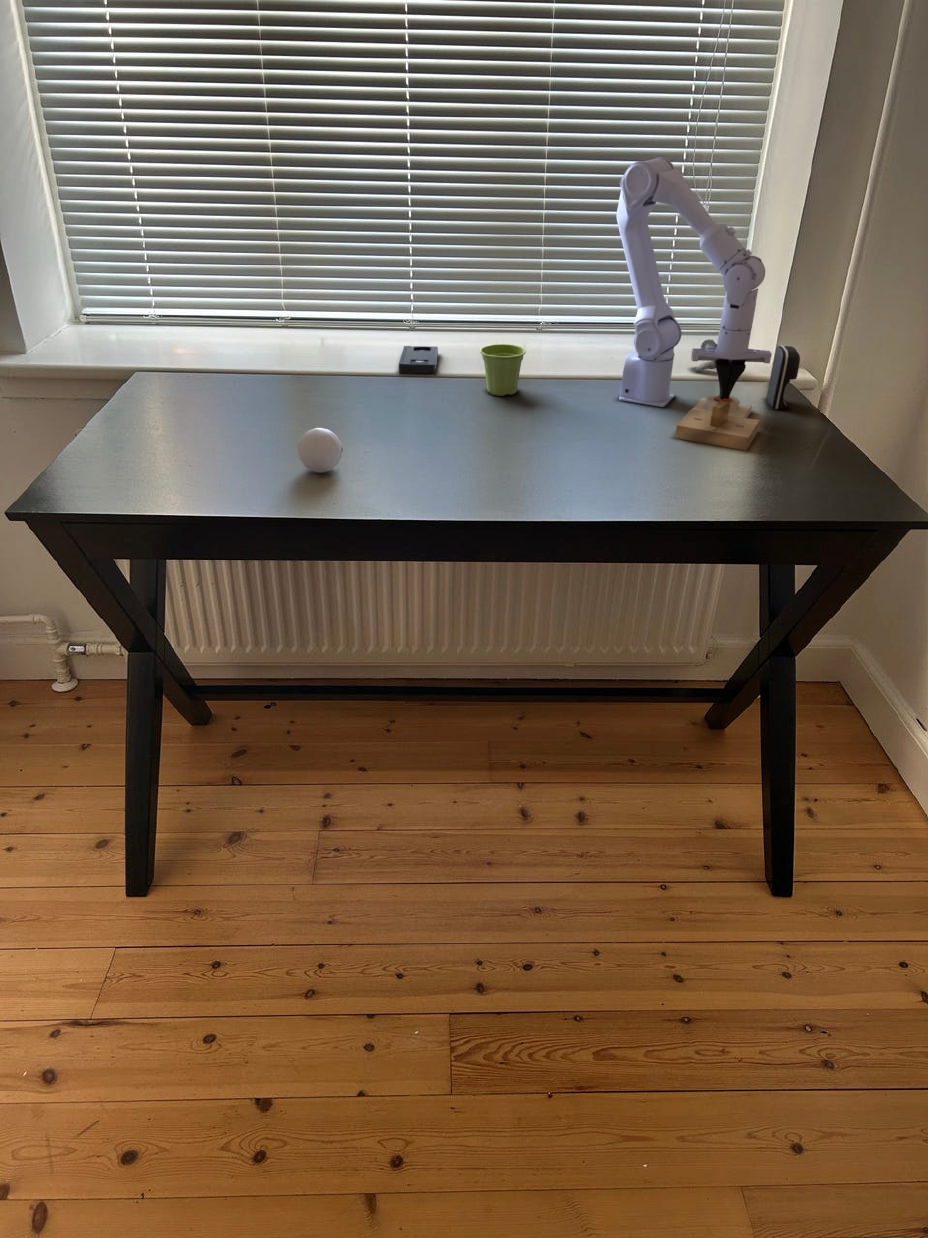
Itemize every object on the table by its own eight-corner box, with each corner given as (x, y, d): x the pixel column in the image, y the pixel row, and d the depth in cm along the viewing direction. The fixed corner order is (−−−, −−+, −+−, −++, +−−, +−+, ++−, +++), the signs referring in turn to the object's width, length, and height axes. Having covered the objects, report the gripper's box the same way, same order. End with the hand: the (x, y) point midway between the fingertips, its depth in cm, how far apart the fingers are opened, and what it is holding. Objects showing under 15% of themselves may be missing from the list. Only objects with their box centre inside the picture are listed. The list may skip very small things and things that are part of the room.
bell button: (712, 407, 172) (713, 399, 171) (716, 403, 175) (717, 394, 174) (728, 410, 171) (730, 401, 170) (732, 405, 173) (733, 396, 172)
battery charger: (791, 411, 175) (803, 353, 169) (771, 410, 176) (783, 352, 170) (784, 399, 181) (796, 343, 175) (765, 398, 182) (776, 342, 175)
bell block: (690, 416, 173) (692, 401, 171) (700, 404, 179) (703, 389, 177) (742, 424, 169) (744, 409, 167) (750, 412, 175) (753, 397, 173)
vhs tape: (434, 373, 195) (434, 364, 193) (399, 372, 195) (398, 363, 194) (438, 354, 207) (437, 346, 205) (404, 354, 207) (404, 345, 206)
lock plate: (674, 438, 163) (676, 424, 161) (689, 421, 170) (691, 408, 169) (746, 450, 158) (748, 436, 156) (757, 432, 165) (760, 419, 164)
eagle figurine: (738, 363, 199) (700, 350, 201) (744, 341, 192) (705, 329, 194) (725, 388, 196) (687, 375, 198) (731, 367, 190) (692, 354, 192)
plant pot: (472, 395, 182) (473, 353, 177) (488, 382, 189) (489, 341, 185) (515, 401, 179) (516, 358, 174) (529, 387, 187) (532, 346, 182)
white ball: (345, 478, 146) (342, 435, 142) (300, 481, 145) (296, 438, 141) (341, 455, 155) (338, 414, 151) (298, 457, 153) (294, 417, 149)
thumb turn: (716, 426, 160) (720, 406, 158) (709, 425, 161) (713, 404, 159) (727, 419, 164) (731, 399, 162) (720, 417, 165) (723, 397, 162)
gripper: (770, 322, 167) (757, 392, 175) (693, 320, 168) (683, 390, 176) (778, 332, 162) (764, 404, 169) (698, 330, 162) (688, 402, 170)
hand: (723, 398), depth 172 cm, fingers closed, pressing on bell button
